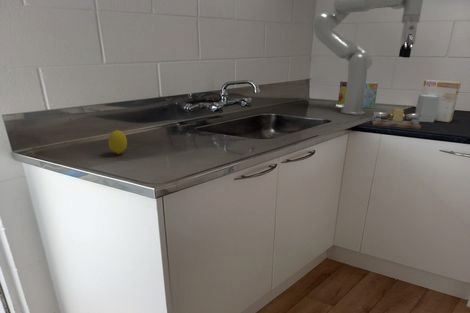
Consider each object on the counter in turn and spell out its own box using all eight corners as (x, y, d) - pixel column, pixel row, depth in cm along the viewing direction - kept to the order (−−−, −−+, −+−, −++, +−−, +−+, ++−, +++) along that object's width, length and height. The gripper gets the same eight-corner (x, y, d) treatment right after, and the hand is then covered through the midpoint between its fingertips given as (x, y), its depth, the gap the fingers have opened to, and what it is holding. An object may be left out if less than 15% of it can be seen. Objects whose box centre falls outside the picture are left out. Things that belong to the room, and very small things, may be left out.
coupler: (402, 121, 162) (404, 109, 160) (404, 124, 157) (406, 111, 155) (387, 120, 163) (390, 108, 161) (389, 122, 159) (391, 110, 157)
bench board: (373, 125, 159) (373, 122, 158) (371, 120, 168) (371, 118, 167) (420, 128, 154) (420, 126, 153) (415, 124, 163) (416, 121, 162)
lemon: (120, 150, 112) (118, 126, 109) (131, 153, 109) (129, 129, 106) (105, 154, 108) (103, 130, 105) (117, 158, 105) (114, 132, 102)
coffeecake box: (451, 120, 173) (461, 81, 167) (448, 122, 168) (458, 82, 161) (419, 116, 182) (428, 78, 176) (416, 117, 177) (424, 79, 171)
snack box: (374, 107, 205) (378, 82, 201) (374, 109, 201) (378, 83, 196) (338, 104, 213) (341, 79, 209) (337, 105, 209) (340, 80, 204)
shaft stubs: (373, 123, 159) (375, 111, 158) (371, 120, 167) (373, 108, 165) (420, 127, 154) (423, 114, 153) (416, 123, 162) (419, 111, 160)
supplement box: (434, 122, 168) (440, 96, 164) (418, 121, 169) (423, 95, 165) (428, 119, 174) (434, 94, 170) (413, 118, 176) (418, 93, 172)
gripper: (423, 18, 152) (416, 58, 158) (415, 21, 168) (408, 57, 174) (405, 18, 154) (398, 57, 160) (398, 20, 170) (393, 56, 176)
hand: (404, 57), depth 167 cm, fingers open, 9 cm apart
